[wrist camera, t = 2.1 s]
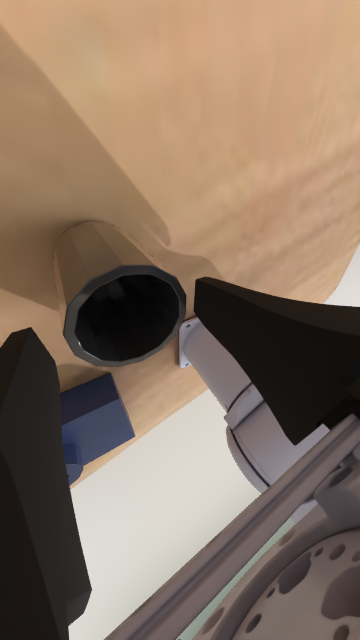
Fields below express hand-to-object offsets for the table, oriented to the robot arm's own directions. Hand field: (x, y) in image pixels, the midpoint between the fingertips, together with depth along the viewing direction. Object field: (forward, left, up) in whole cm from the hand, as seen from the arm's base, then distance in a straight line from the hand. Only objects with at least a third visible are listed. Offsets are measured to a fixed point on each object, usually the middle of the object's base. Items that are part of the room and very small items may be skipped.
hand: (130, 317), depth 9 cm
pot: (0, 0, -7) cm, 7 cm away
